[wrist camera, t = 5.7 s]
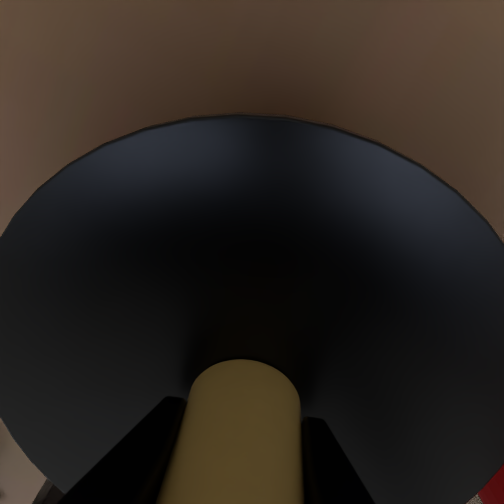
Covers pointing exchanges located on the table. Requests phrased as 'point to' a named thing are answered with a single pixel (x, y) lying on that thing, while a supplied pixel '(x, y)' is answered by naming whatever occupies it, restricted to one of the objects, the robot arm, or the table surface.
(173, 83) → the table surface
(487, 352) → the black disc with peg
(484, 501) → the beverage can
